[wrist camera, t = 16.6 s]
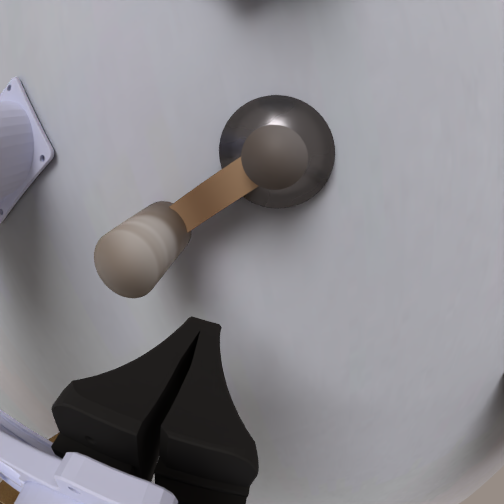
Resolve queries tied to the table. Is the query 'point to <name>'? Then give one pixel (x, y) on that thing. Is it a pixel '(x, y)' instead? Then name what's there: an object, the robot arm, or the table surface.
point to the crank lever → (194, 211)
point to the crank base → (300, 121)
